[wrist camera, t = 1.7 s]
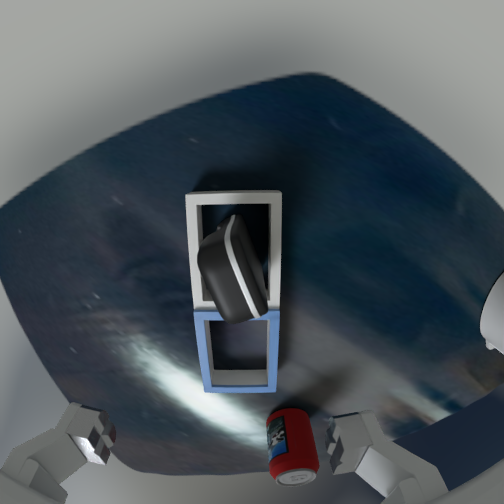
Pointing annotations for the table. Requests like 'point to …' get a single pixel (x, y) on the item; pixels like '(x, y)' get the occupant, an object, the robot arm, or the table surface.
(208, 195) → the tray
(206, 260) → the battery charger
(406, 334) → the table surface
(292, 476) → the beverage can
